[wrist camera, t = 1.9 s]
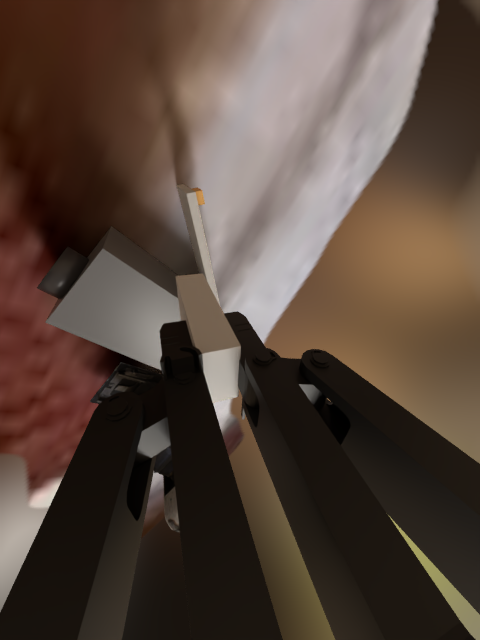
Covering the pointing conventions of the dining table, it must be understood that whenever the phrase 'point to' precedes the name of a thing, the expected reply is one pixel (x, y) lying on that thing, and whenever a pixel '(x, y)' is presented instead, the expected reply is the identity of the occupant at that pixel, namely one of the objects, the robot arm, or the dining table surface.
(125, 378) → the vintage camera
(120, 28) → the dining table surface
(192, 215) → the side door
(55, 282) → the cabinet with round knob
